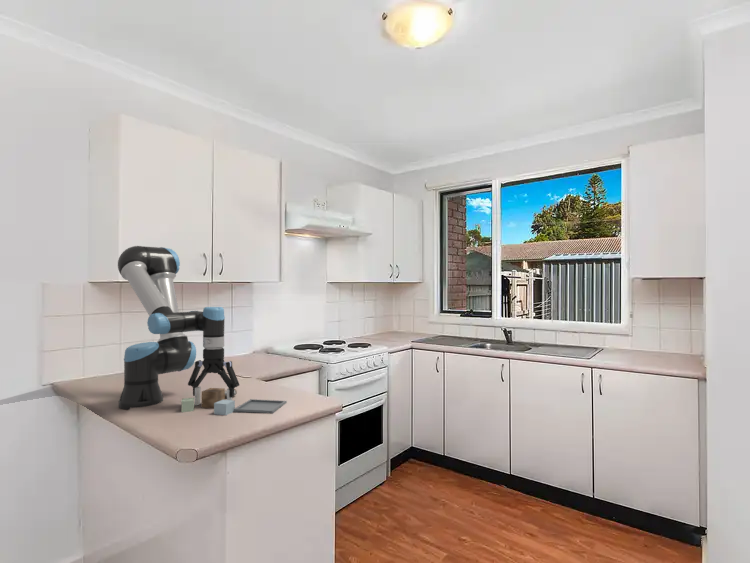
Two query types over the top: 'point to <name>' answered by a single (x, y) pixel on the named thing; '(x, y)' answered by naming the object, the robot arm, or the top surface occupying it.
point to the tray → (260, 406)
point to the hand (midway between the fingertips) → (213, 405)
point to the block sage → (187, 404)
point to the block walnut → (212, 397)
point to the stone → (234, 392)
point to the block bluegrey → (224, 407)
